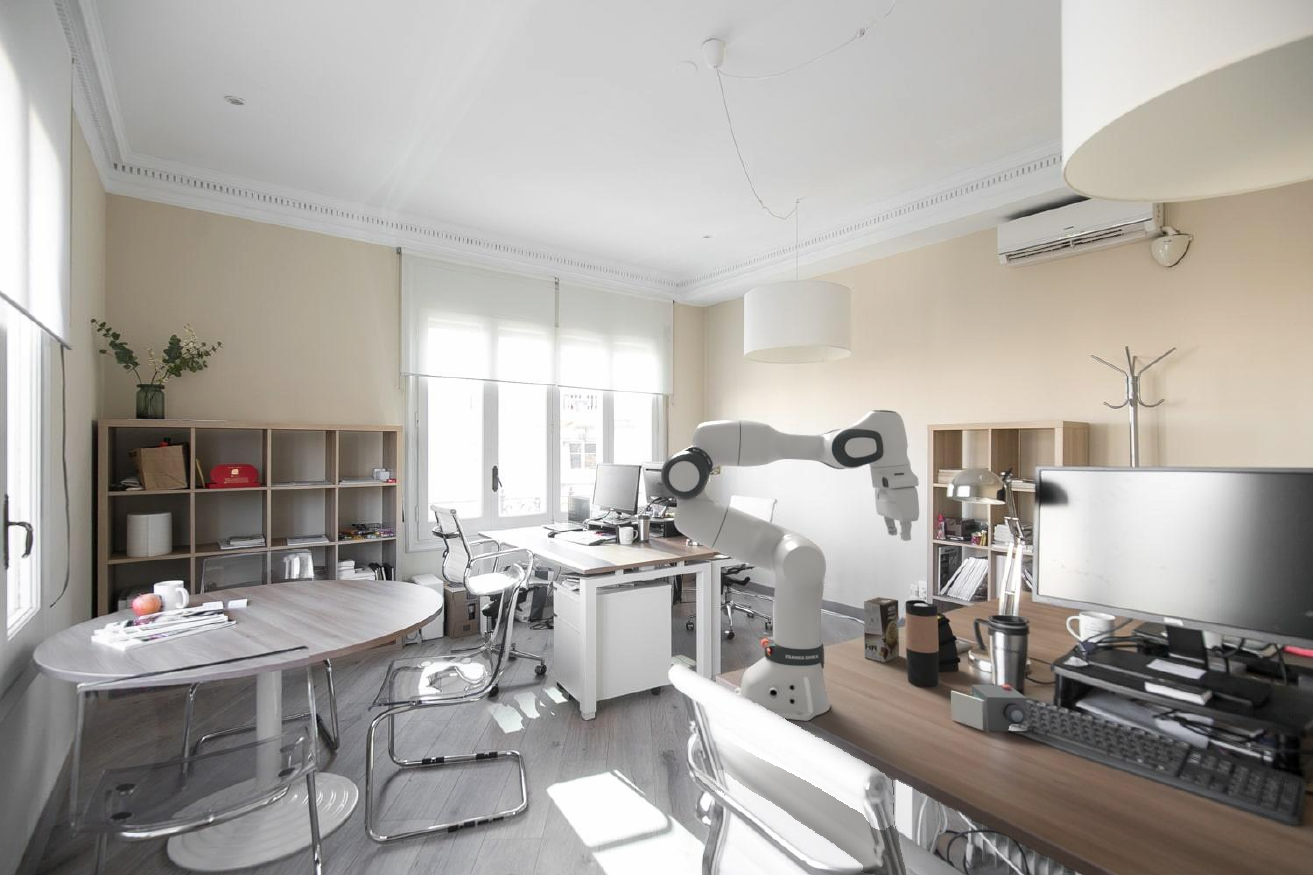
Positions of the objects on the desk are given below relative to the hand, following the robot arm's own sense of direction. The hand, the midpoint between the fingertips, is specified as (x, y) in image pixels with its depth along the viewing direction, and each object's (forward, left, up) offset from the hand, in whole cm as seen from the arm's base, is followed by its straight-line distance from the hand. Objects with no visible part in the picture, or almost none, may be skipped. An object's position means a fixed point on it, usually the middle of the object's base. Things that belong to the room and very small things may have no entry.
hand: (899, 537), depth 140 cm
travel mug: (+10, +15, -39) cm, 43 cm away
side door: (+10, -10, -38) cm, 41 cm away
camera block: (+17, -9, -39) cm, 43 cm away
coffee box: (+6, +35, -39) cm, 53 cm away
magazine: (+16, +24, -39) cm, 48 cm away
